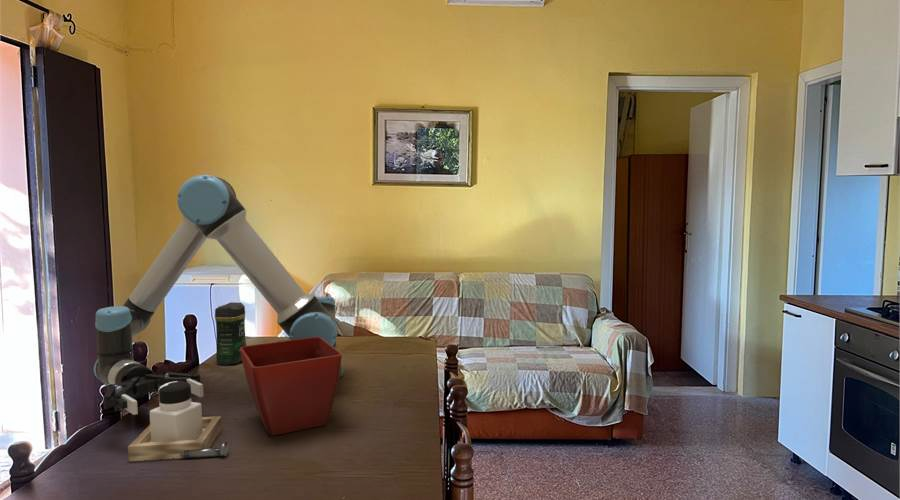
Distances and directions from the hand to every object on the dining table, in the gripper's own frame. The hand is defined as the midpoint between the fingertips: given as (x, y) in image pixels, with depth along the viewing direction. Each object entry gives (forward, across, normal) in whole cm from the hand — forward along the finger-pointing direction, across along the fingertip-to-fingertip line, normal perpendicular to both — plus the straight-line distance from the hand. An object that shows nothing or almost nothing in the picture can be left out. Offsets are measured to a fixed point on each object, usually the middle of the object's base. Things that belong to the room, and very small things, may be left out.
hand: (169, 399), depth 123 cm
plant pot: (+10, -23, -9) cm, 27 cm away
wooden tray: (+3, 0, -9) cm, 10 cm away
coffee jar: (-47, -38, -9) cm, 62 cm away
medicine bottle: (+3, 0, -8) cm, 9 cm away
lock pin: (+13, -1, -9) cm, 16 cm away
